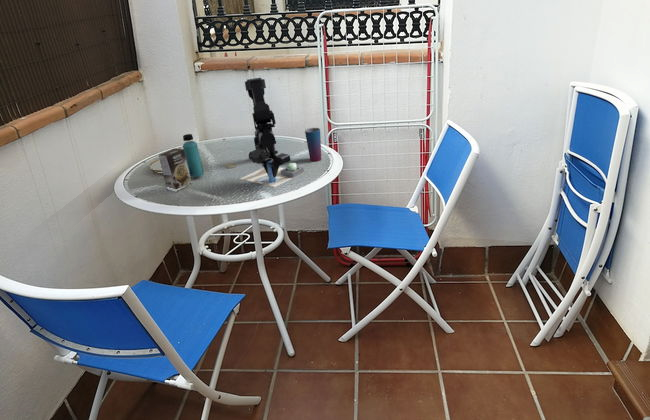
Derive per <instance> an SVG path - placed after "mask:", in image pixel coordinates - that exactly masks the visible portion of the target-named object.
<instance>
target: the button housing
mask: <svg viewBox="0 0 650 420" xmlns="http://www.w3.org/2000/svg"><path fill="white" fill-rule="evenodd" d="M296 167H297V170H295V171H293V172H291V171H288V170H287V167H284V168H285V169H283V170H281V175H283V176H288V177H293V178H292V179H294V178H295V176H296V177H297V175H298V176H299V175H301V174H303V173H305V168H304V167H303V166H298V165H296Z"/></svg>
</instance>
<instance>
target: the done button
mask: <svg viewBox="0 0 650 420" xmlns="http://www.w3.org/2000/svg"><path fill="white" fill-rule="evenodd" d="M296 166H297V163H296V162H288V163H287V164H286V168H287V170H288V171H291V172H293V171H295V170H297V167H296Z"/></svg>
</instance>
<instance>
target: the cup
mask: <svg viewBox="0 0 650 420" xmlns="http://www.w3.org/2000/svg"><path fill="white" fill-rule="evenodd" d="M304 134H305V139H306V144H307V151H308V155H309V160H310V162H311V163H317V162H320V161H322V142H321V141H322V140H321V128H319V127H310V128H307V129H305V130H304Z"/></svg>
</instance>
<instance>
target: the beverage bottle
mask: <svg viewBox="0 0 650 420" xmlns="http://www.w3.org/2000/svg"><path fill="white" fill-rule="evenodd" d="M182 138H183V139H182V140H183V141H184V143H183V145H182V149H184V152H185V156H186V160H187V165H188V169H189V173H190V178H197V177H201V176H203V175H204V172H205V171H204V167H203V162H202V158H201V155H200V152H199V148H198V143H197V142H195V141H193V140H194V136H193V134H192V133H186V134H184V135H183V136H182Z"/></svg>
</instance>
